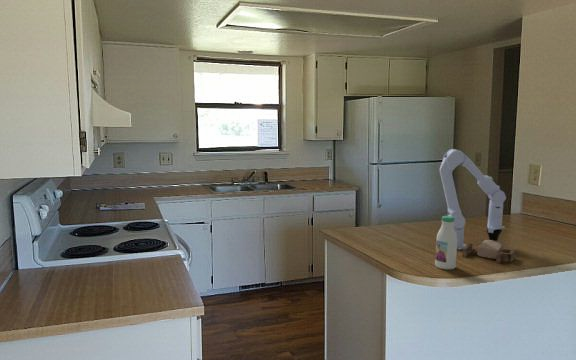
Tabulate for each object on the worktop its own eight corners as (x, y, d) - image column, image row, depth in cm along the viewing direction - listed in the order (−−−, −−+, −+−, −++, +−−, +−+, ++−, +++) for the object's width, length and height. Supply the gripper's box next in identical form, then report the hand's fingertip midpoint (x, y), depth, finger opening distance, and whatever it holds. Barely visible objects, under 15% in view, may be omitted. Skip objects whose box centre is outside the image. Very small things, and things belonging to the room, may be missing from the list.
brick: (484, 247, 201) (484, 237, 200) (504, 251, 196) (505, 240, 195) (476, 257, 187) (477, 246, 186) (497, 261, 182) (498, 249, 182)
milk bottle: (450, 263, 178) (453, 214, 175) (458, 270, 170) (462, 218, 168) (431, 263, 178) (434, 214, 175) (439, 270, 170) (442, 218, 168)
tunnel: (462, 256, 188) (462, 248, 187) (470, 250, 196) (470, 242, 196) (508, 265, 177) (509, 256, 176) (514, 258, 186) (515, 250, 185)
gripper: (501, 219, 189) (499, 250, 191) (508, 214, 201) (506, 243, 203) (483, 217, 194) (481, 247, 196) (491, 212, 205) (489, 240, 207)
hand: (493, 245), depth 199 cm, fingers closed
